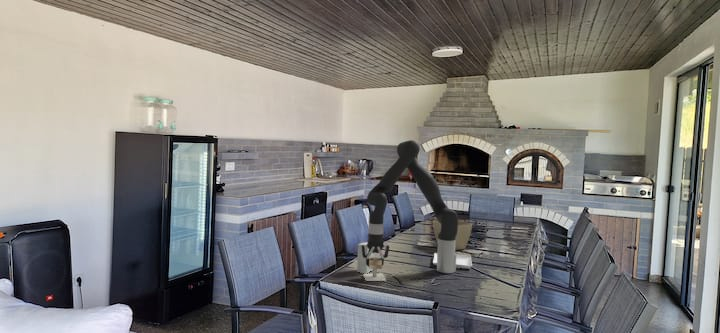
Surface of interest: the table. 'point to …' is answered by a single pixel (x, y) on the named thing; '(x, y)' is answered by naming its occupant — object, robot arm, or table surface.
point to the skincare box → (363, 260)
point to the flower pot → (462, 233)
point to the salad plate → (458, 261)
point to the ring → (375, 263)
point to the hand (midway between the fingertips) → (374, 265)
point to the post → (374, 275)
